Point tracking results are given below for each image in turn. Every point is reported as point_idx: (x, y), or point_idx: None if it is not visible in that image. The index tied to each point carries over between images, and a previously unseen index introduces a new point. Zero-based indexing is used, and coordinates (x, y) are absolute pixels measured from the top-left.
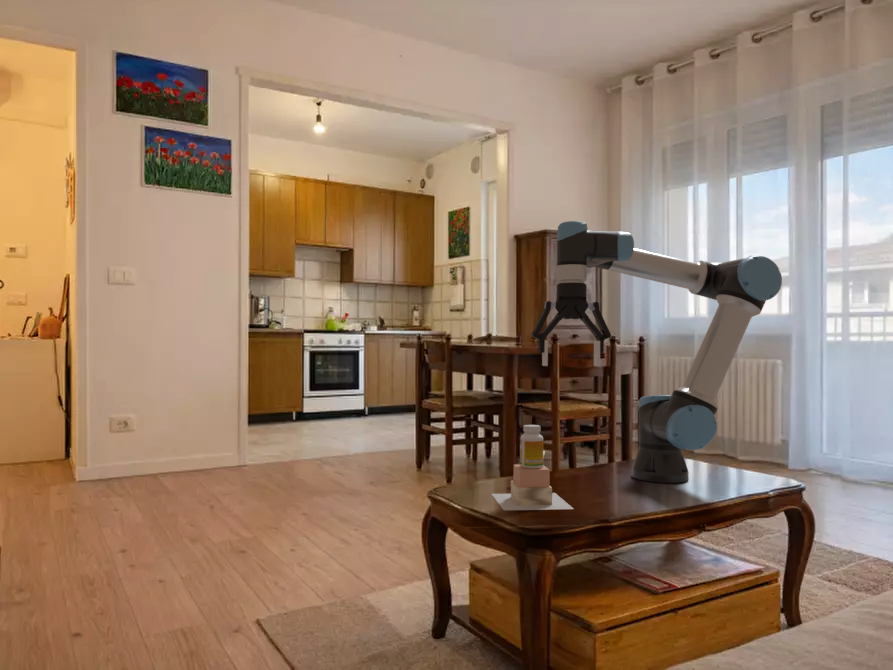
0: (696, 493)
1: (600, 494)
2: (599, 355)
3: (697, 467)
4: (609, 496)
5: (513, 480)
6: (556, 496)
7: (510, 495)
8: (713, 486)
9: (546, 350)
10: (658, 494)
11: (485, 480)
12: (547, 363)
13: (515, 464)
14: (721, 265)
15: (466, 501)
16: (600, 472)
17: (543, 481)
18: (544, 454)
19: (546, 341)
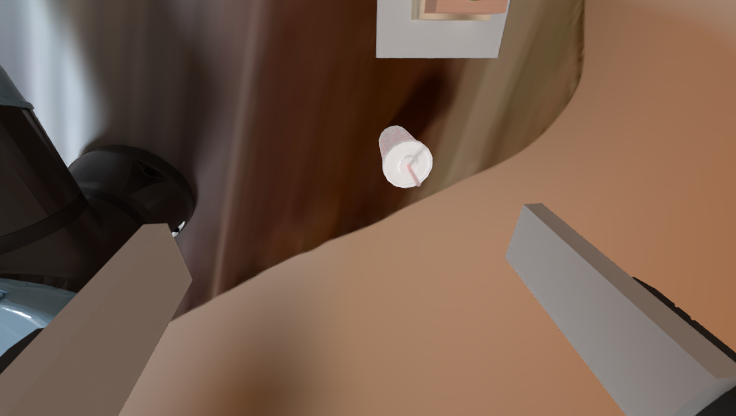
0: (55, 45)
1: (283, 52)
2: (91, 286)
3: None
4: (267, 30)
5: (487, 14)
6: (383, 21)
7: (468, 39)
8: None
9: (619, 277)
10: (151, 42)
11: (460, 179)
12: (535, 212)
13: (501, 10)
14: None
15: (559, 7)
16: (249, 235)
17: None
18: (384, 157)
19: (716, 359)
